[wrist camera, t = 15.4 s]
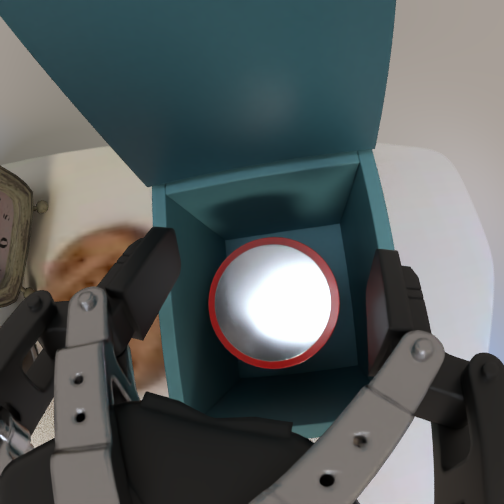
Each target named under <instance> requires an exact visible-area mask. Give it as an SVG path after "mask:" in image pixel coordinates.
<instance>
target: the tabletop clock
mask: <svg viewBox="0 0 504 504" xmlns="http://www.w3.org/2000/svg"><path fill="white" fill-rule="evenodd" d="M47 209H48V205H47V202H46V201H44V200H41V201H39V202H38V203H37V204H36V206H33V192H32V190H31V189H30V188H29V187H28V185H27V184H26V183H25V182H24V181H23V180H21V179H20V178H19V177H18V176H16V175H15V174H13V173H12V172H10V171H8V170H7V169H5V168H3V167H2V166H0V308H1V307H5V306H8V305H10V304H12V303H14V302H16V301H17V298H18V295H19V293H20V291H22V292H23V295H24V298H26V297H27V296H28V295H30V294H31V293H33V292H35V291H34V290H33V289H32V288H26V289H25V288H24V287H22V282H23V277H24V271H25V265H26V259H27V254H28V248H29V240H30V231H31V223H32V215H33V211H36V210H37V212H38V213H45V212H46V211H47Z"/></svg>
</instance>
